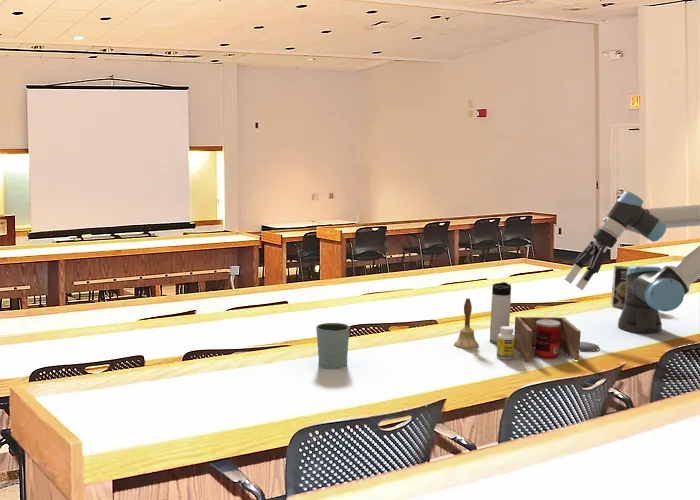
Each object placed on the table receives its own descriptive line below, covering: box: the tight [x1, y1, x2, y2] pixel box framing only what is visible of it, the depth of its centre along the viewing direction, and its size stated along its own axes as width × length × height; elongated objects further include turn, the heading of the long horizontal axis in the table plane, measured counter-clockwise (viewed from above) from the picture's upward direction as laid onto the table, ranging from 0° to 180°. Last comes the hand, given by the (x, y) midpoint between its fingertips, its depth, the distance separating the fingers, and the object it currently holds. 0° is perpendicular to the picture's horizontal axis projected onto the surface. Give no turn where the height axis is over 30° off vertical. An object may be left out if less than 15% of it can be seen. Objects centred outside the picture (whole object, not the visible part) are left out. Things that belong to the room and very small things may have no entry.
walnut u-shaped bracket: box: [513, 316, 582, 363], centre depth 280 cm, size 16×18×10 cm
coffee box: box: [610, 265, 630, 309], centre depth 352 cm, size 9×6×16 cm
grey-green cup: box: [316, 322, 351, 370], centre depth 262 cm, size 10×10×12 cm
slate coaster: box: [579, 341, 600, 352], centre depth 289 cm, size 10×10×1 cm
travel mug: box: [489, 281, 512, 345], centre depth 292 cm, size 6×7×20 cm
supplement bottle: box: [496, 325, 515, 361], centre depth 274 cm, size 5×5×10 cm
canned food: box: [534, 319, 561, 360], centre depth 278 cm, size 8×8×11 cm
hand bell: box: [453, 298, 480, 350], centre depth 287 cm, size 8×8×16 cm
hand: (573, 284), depth 298 cm, fingers open, 13 cm apart
